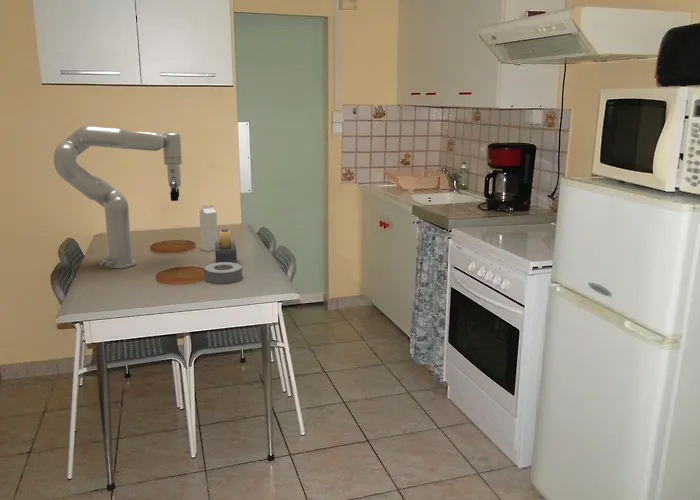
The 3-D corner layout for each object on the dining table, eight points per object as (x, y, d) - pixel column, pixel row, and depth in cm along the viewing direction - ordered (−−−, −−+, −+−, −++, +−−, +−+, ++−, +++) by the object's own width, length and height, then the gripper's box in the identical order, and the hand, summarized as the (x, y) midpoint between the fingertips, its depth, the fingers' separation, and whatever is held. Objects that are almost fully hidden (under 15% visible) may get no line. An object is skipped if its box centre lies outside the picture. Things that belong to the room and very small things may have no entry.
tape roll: (247, 281, 247) (247, 269, 246) (211, 286, 239) (210, 274, 238) (235, 271, 260) (234, 260, 258) (200, 276, 252) (199, 264, 251)
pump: (226, 248, 266) (225, 231, 264) (217, 246, 268) (216, 229, 266) (233, 246, 270) (232, 229, 268) (224, 244, 273) (224, 227, 271)
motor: (236, 267, 266) (236, 243, 263) (216, 268, 264) (215, 243, 261) (235, 257, 282) (234, 234, 279) (215, 258, 280) (214, 235, 277)
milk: (218, 249, 296) (216, 205, 291) (207, 251, 292) (205, 207, 286) (211, 247, 300) (210, 203, 295) (200, 249, 296) (199, 205, 291)
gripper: (180, 162, 258) (183, 202, 263) (182, 158, 275) (184, 195, 279) (162, 162, 257) (165, 202, 261) (165, 159, 273) (167, 196, 277)
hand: (175, 199), depth 270 cm, fingers open, 9 cm apart
